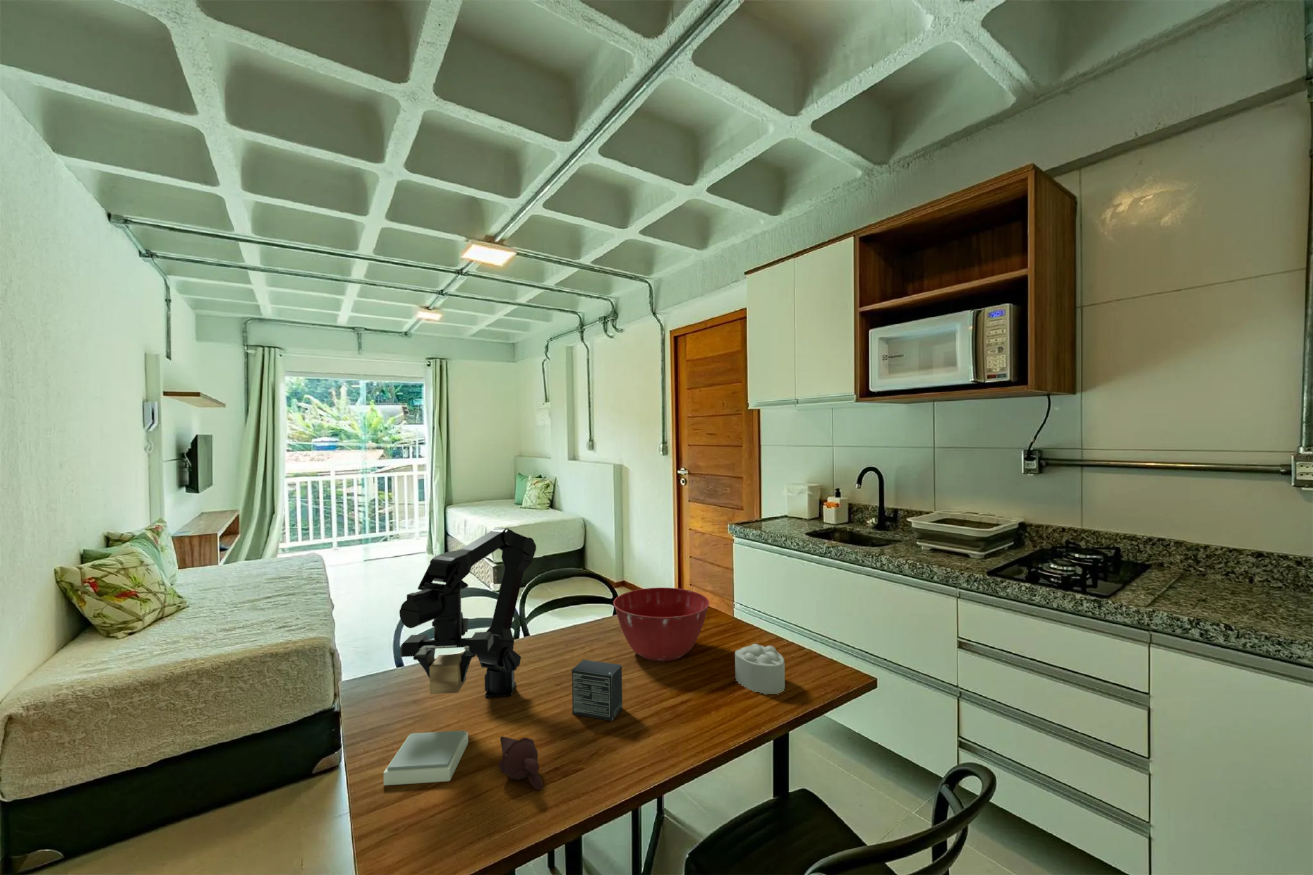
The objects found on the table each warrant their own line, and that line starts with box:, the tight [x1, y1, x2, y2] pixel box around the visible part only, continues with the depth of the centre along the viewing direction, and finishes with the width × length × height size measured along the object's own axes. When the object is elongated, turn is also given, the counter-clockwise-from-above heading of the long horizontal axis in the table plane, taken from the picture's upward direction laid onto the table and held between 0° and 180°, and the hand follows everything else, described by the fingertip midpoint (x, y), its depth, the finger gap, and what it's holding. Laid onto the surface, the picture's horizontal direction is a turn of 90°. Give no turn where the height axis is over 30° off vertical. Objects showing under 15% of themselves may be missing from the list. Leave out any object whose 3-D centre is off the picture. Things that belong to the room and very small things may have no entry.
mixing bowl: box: [612, 587, 710, 662], centre depth 153 cm, size 28×28×16 cm
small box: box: [571, 659, 623, 722], centre depth 121 cm, size 11×6×10 cm, turn 71°
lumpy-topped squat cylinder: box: [734, 643, 786, 695], centre depth 133 cm, size 10×13×9 cm
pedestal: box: [383, 729, 469, 786], centre depth 102 cm, size 12×12×3 cm
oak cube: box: [429, 653, 467, 695], centre depth 115 cm, size 6×6×6 cm
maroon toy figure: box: [498, 736, 544, 791], centre depth 98 cm, size 7×7×15 cm
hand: (448, 681), depth 115 cm, fingers closed on oak cube, 6 cm apart
